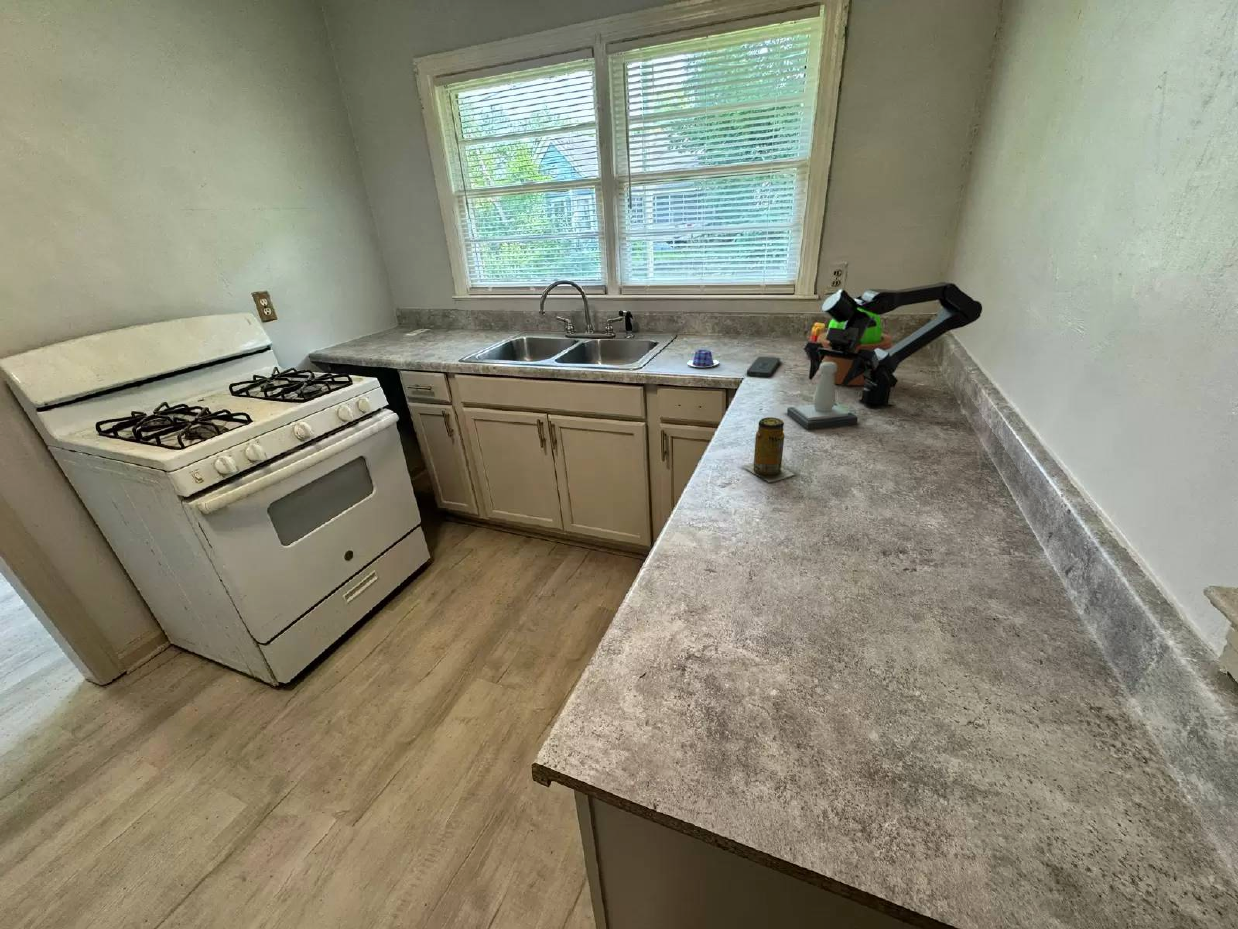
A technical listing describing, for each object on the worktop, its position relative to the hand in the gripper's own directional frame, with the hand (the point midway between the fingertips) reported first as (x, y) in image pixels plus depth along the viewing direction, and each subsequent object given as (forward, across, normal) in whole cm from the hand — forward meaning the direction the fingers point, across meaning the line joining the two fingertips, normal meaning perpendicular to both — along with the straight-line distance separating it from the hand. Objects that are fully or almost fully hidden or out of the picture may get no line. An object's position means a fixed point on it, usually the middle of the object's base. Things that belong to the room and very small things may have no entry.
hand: (825, 382), depth 131 cm
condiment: (+32, +7, -17) cm, 37 cm away
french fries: (-30, -32, +46) cm, 64 cm away
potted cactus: (-19, -12, +35) cm, 41 cm away
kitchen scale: (+7, 0, +8) cm, 11 cm away
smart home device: (-14, -40, +30) cm, 52 cm away
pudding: (-8, -61, +23) cm, 66 cm away
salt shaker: (+5, 0, +6) cm, 8 cm away
